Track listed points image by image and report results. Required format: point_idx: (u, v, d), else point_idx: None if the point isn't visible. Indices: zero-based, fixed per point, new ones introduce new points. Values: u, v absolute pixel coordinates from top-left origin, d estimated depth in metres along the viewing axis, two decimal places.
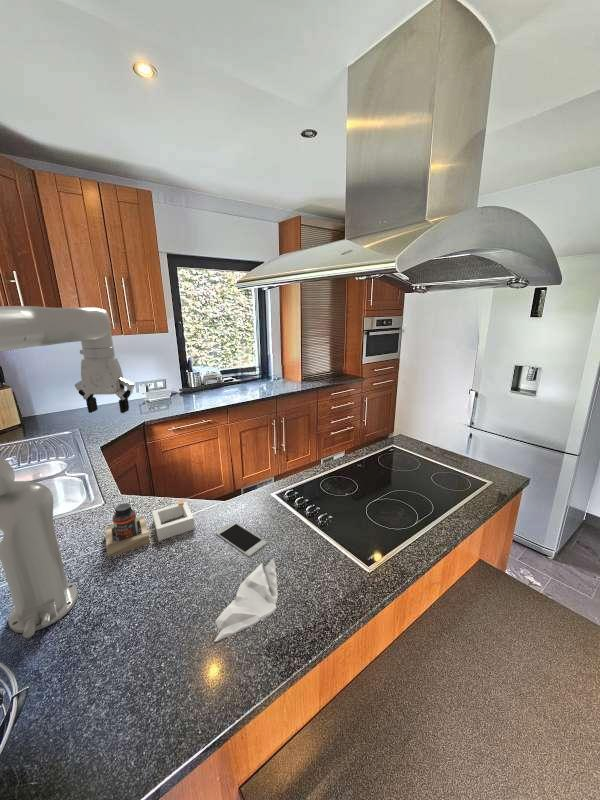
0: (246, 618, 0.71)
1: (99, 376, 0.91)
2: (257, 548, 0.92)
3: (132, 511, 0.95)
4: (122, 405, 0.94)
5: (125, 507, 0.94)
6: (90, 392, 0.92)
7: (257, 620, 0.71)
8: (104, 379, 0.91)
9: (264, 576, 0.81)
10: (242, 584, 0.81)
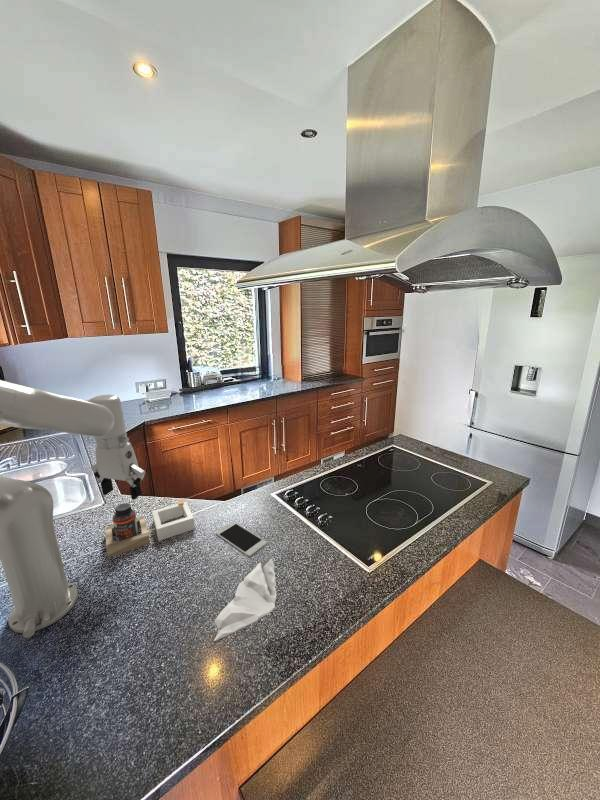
0: (245, 617, 0.71)
1: None
2: (257, 548, 0.92)
3: (132, 511, 0.95)
4: None
5: (125, 507, 0.94)
6: None
7: (256, 619, 0.71)
8: None
9: (263, 575, 0.82)
10: (241, 584, 0.81)
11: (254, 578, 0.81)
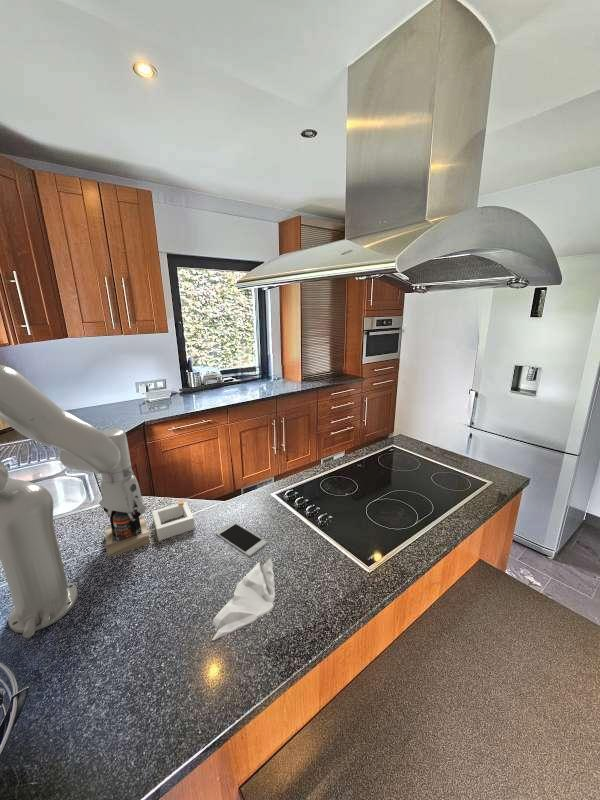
0: (243, 617, 0.72)
1: None
2: (257, 548, 0.92)
3: None
4: None
5: None
6: None
7: (254, 619, 0.71)
8: None
9: (261, 575, 0.82)
10: (240, 583, 0.81)
11: (253, 578, 0.81)
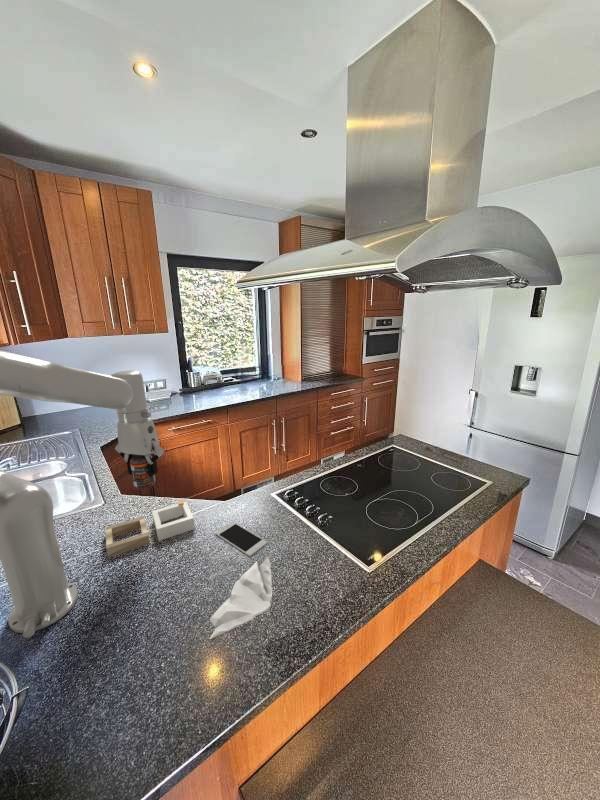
0: (240, 616, 0.72)
1: None
2: (257, 548, 0.92)
3: None
4: None
5: None
6: None
7: (251, 618, 0.72)
8: None
9: (259, 574, 0.82)
10: (237, 582, 0.81)
11: (250, 577, 0.81)
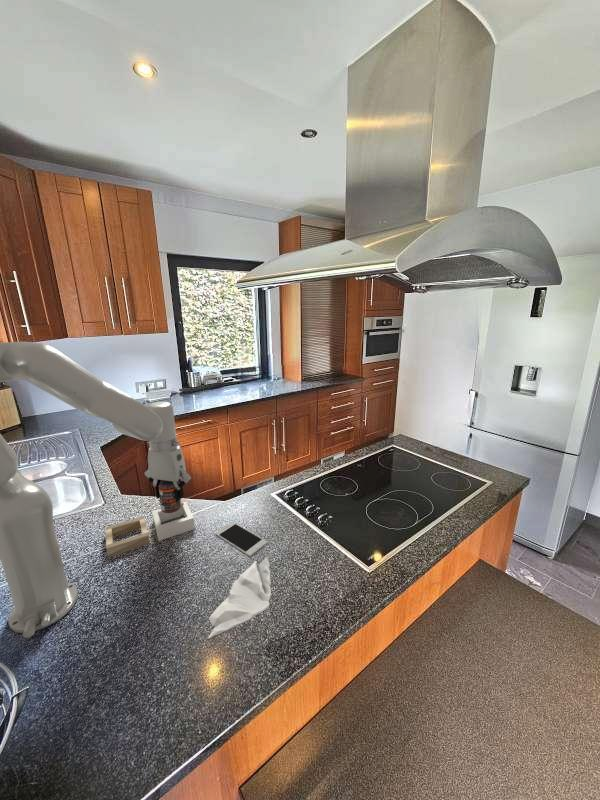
0: (239, 615, 0.72)
1: None
2: (258, 547, 0.92)
3: None
4: None
5: None
6: None
7: (250, 617, 0.72)
8: None
9: (258, 574, 0.82)
10: (236, 582, 0.81)
11: (249, 576, 0.82)
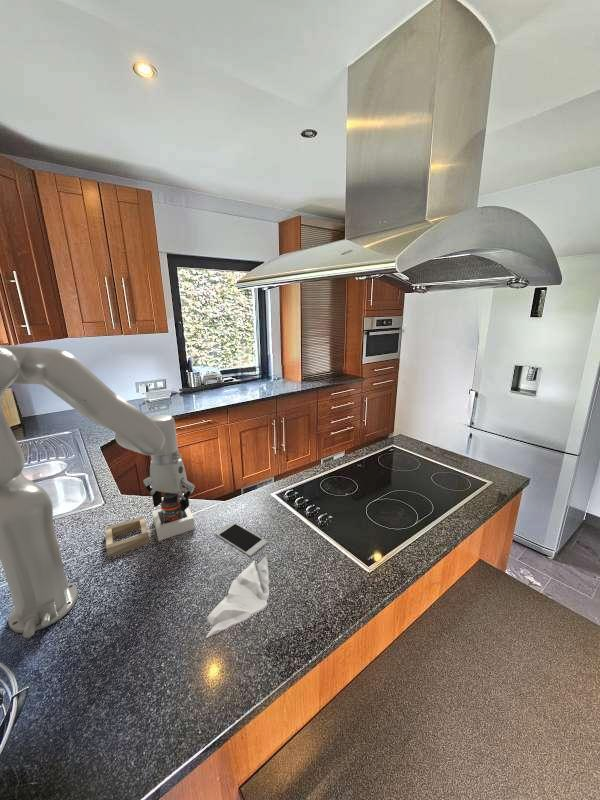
0: (237, 615, 0.72)
1: None
2: (258, 547, 0.93)
3: (178, 498, 1.01)
4: None
5: (173, 494, 1.00)
6: None
7: (248, 616, 0.72)
8: None
9: (256, 573, 0.82)
10: (235, 581, 0.81)
11: (247, 576, 0.82)
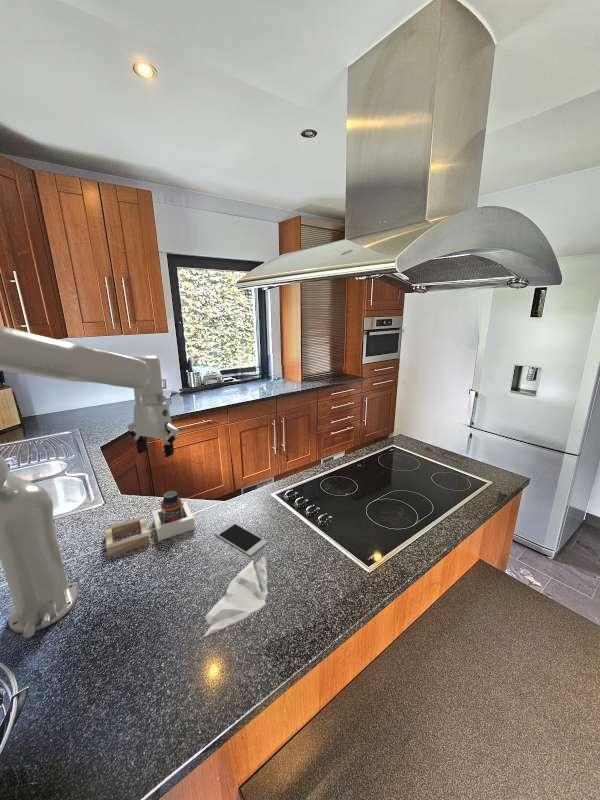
0: (235, 614, 0.72)
1: None
2: (258, 547, 0.93)
3: (178, 498, 1.01)
4: None
5: (173, 494, 1.00)
6: None
7: (246, 616, 0.72)
8: None
9: (254, 573, 0.82)
10: (233, 581, 0.82)
11: (246, 575, 0.82)
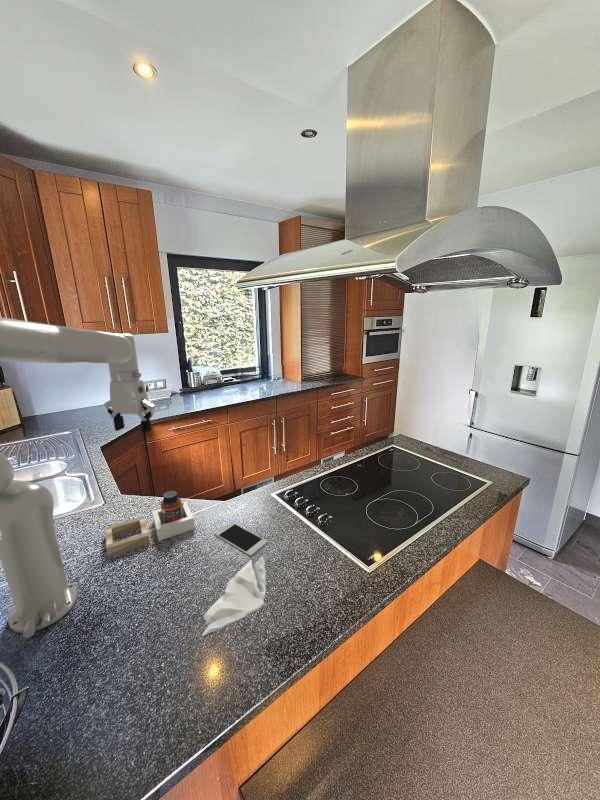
0: (233, 613, 0.72)
1: None
2: (258, 547, 0.93)
3: (178, 498, 1.01)
4: None
5: (172, 494, 1.00)
6: None
7: (244, 615, 0.72)
8: None
9: (253, 572, 0.83)
10: (232, 580, 0.82)
11: (244, 575, 0.82)
